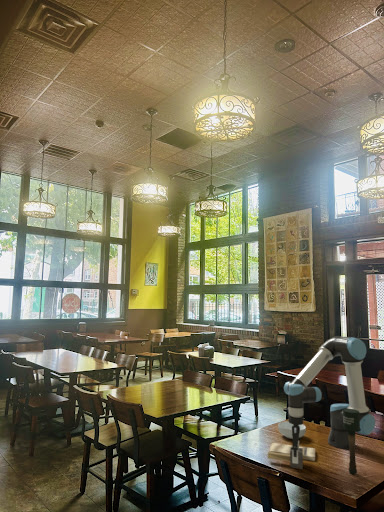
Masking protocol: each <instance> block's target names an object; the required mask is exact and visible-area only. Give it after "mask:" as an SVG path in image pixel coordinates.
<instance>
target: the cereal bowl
mask: <svg viewBox="0 0 384 512" xmlns="http://www.w3.org/2000/svg"><path fill="white" fill-rule="evenodd" d="M292 426H293V424H290V423H289V420H288V421H287V420H286V421H280V422H279V423H278V424H277V429H278V431H279V433H280V434H281V435H282V436H284V437H285V438H287V439H290V440H293V436H292ZM299 427H300V433H299V438H300V439H301V438H302V437H304V436H305V434H306V429H307V427H306V425H305V424H304V423H303V424H302V425H299Z"/></svg>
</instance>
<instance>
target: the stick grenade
mask: <svg viewBox="0 0 384 512" xmlns="http://www.w3.org/2000/svg"><path fill="white" fill-rule="evenodd" d="M342 428H343V429H344V430H347V431H348V438H349V449H348V451H349V463H348V472H349V474H351V475H357V473H358V469H357V462H356V433H357V432H359V431H361V428H360V414H359V411H358V410H355V409H343V427H342Z"/></svg>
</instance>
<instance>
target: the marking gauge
mask: <svg viewBox="0 0 384 512" xmlns="http://www.w3.org/2000/svg"><path fill="white" fill-rule="evenodd" d="M291 448H292V447H291ZM267 458H268V459H270V460H277V461H283V462H284V461H286V462H289V464H290V465H289V467H290V468H291V467H292V469H298V468H299V469H300V470H303V467H304V466H303V465H304V461H303V460H304V459H303V448H298V464H295V463H292V449H290V455H288V454H281V453H274V452H269V451H268V452H267Z"/></svg>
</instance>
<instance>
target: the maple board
mask: <svg viewBox="0 0 384 512" xmlns="http://www.w3.org/2000/svg"><path fill="white" fill-rule="evenodd" d="M291 447H292V445H291V444H284V443H283V444H282V443H279V442H278V443H276V442H272V443H271V444H270V447H269V451H268V452H274V453H281V454H288V455H290V449H291ZM299 448H303V460H305V461H311V462H312V461H313V462H315V461H316V448H315V447H314V448H313V447H306V446H300V445H299Z"/></svg>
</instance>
